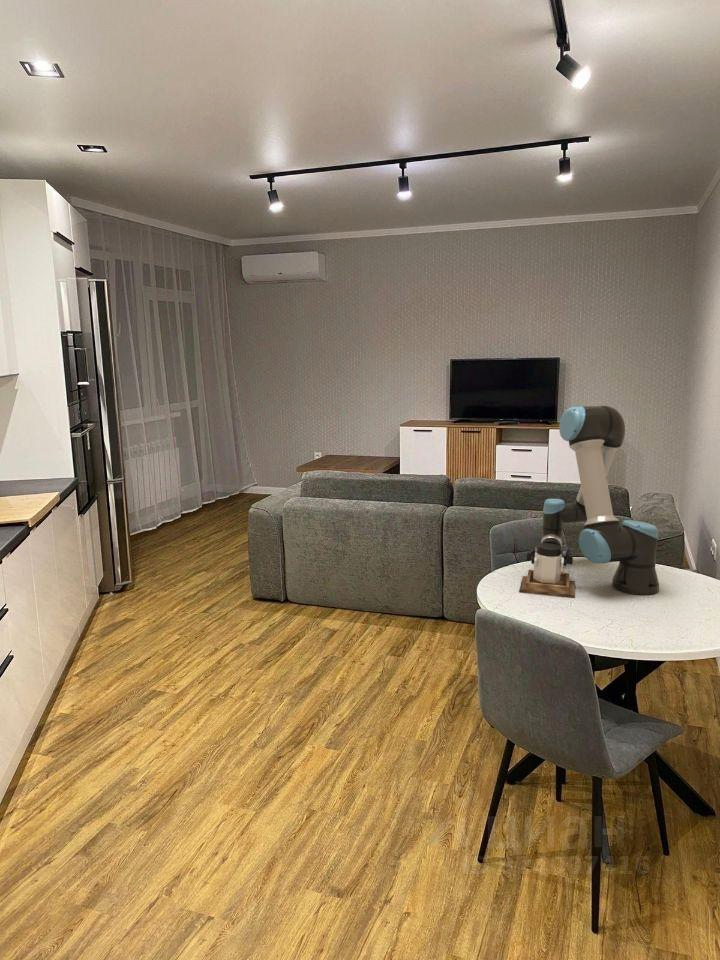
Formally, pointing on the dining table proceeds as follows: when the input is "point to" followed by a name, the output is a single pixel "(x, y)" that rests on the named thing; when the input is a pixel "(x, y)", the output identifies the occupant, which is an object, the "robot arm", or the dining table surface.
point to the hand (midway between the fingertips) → (548, 565)
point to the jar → (548, 563)
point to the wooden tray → (548, 586)
